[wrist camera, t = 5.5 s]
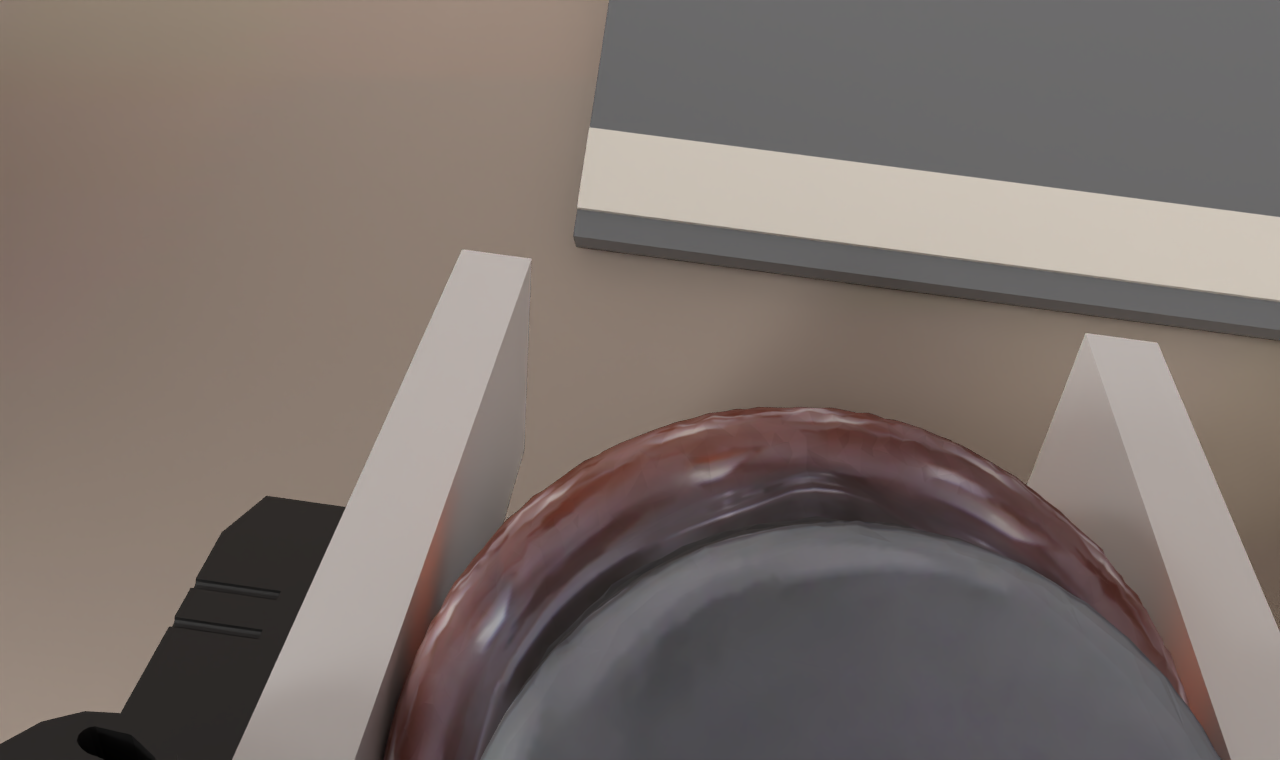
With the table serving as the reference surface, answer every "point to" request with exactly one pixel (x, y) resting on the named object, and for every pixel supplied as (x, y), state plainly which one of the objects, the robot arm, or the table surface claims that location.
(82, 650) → the table surface
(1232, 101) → the grey flat slab
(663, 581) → the supplement bottle
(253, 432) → the table surface
